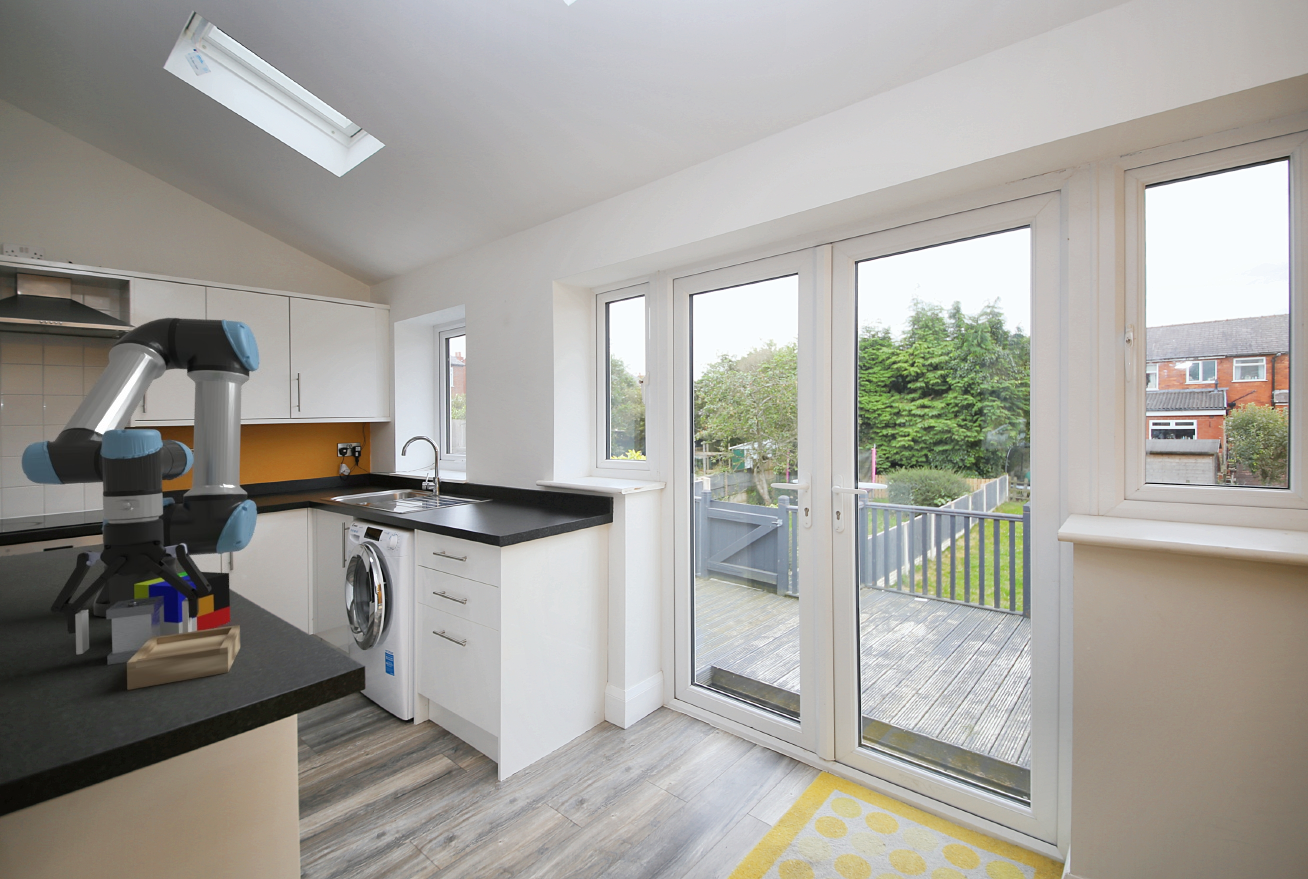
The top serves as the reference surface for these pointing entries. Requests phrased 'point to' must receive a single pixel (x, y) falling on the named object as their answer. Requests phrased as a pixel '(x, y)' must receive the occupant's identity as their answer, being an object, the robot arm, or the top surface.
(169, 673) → the tray
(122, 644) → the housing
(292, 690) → the top surface
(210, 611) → the puzzle toy
